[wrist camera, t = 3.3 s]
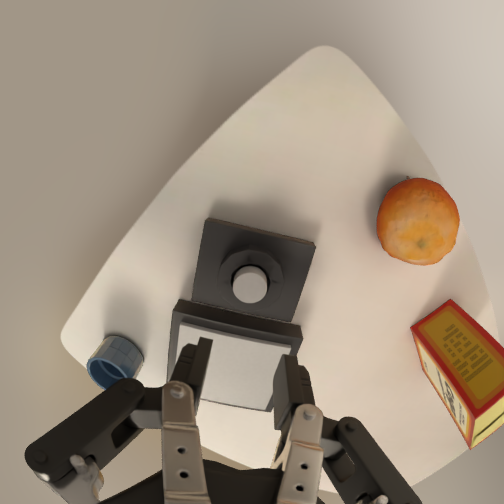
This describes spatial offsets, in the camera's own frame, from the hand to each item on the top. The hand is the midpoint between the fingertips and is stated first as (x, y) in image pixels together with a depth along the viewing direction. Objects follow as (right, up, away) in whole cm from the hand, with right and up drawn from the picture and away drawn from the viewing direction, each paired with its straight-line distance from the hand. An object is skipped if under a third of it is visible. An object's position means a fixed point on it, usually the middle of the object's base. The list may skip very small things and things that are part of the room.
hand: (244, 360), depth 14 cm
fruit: (+15, +9, +11) cm, 21 cm away
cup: (-16, -7, +17) cm, 24 cm away
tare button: (0, +3, +10) cm, 11 cm away
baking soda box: (+25, -5, +15) cm, 30 cm away
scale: (-2, -6, +16) cm, 17 cm away
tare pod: (0, +4, +13) cm, 13 cm away
